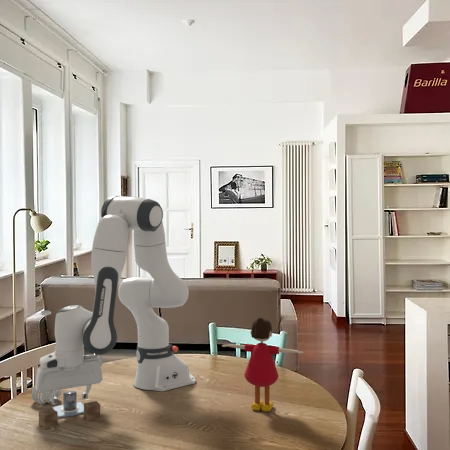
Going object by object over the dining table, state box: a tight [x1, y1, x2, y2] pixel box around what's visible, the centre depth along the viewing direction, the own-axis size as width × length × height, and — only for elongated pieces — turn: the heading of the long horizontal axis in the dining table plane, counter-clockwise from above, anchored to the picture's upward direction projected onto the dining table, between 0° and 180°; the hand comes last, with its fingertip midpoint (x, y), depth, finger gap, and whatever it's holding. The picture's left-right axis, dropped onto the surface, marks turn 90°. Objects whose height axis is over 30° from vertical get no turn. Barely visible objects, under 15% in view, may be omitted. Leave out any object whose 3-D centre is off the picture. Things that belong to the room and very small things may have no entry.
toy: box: [221, 317, 304, 413], centre depth 168 cm, size 27×11×30 cm, turn 71°
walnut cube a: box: [83, 400, 101, 421], centre depth 163 cm, size 4×4×4 cm
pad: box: [51, 401, 84, 419], centre depth 168 cm, size 9×9×1 cm
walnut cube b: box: [38, 407, 59, 430], centre depth 157 cm, size 4×4×4 cm
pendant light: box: [30, 310, 62, 405], centre depth 176 cm, size 9×9×30 cm
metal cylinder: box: [62, 390, 78, 411], centre depth 168 cm, size 4×4×5 cm
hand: (69, 401), depth 168 cm, fingers open, 8 cm apart
